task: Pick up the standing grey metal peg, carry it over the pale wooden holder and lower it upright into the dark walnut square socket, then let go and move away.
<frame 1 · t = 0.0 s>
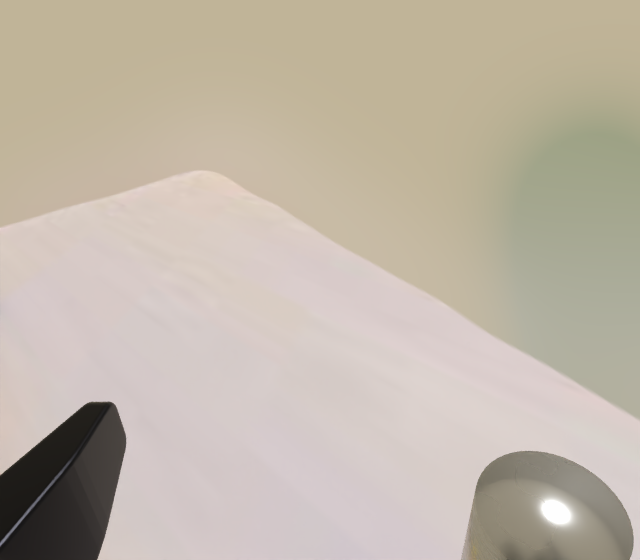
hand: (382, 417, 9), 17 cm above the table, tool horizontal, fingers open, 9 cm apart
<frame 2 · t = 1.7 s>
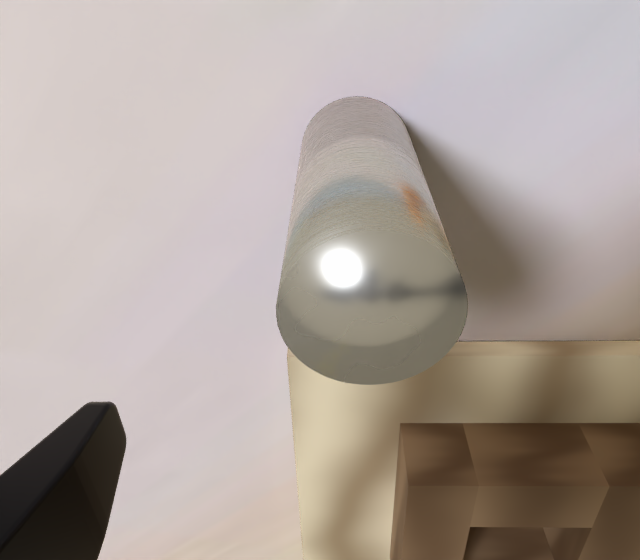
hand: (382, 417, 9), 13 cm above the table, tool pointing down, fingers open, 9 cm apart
peg: (355, 152, 20), on the table
socket holder: (496, 480, 30), on the table
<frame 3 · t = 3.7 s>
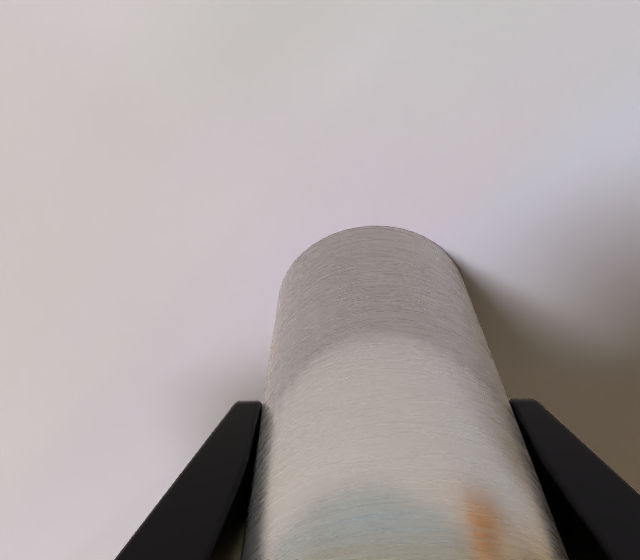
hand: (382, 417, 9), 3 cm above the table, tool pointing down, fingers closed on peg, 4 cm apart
peg: (371, 309, 11), on the table, touching gripper
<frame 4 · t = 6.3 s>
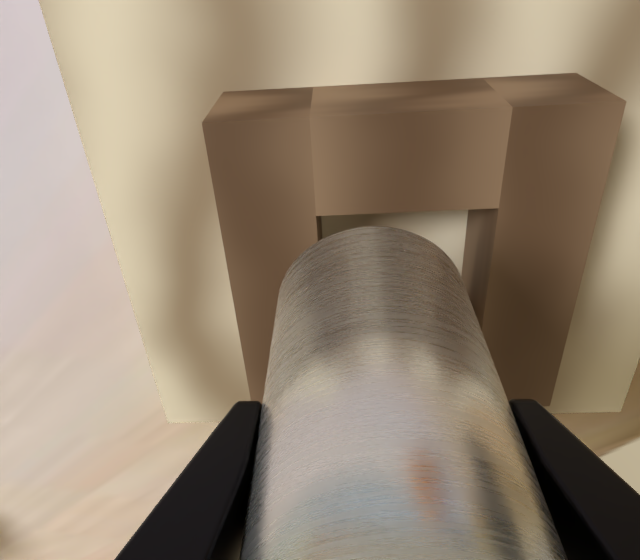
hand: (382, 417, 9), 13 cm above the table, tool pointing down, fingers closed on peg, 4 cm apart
peg: (370, 309, 11), point 10 cm above the table, touching gripper
socket holder: (391, 225, 21), on the table
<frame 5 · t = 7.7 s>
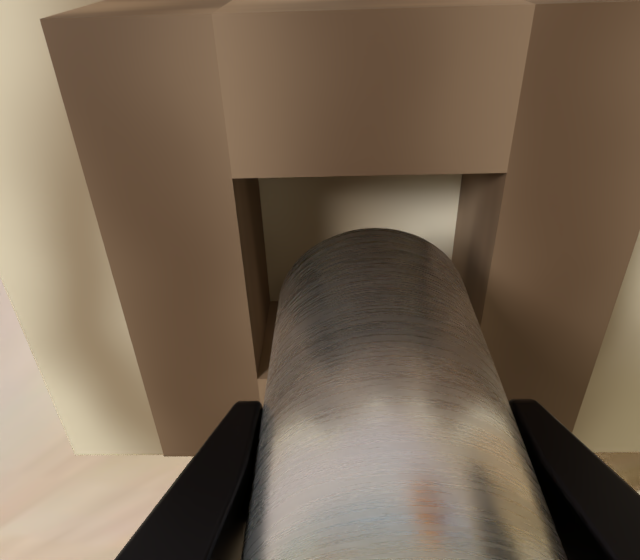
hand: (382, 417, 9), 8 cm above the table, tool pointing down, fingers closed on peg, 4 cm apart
peg: (371, 310, 11), point 5 cm above the table, touching gripper
socket holder: (357, 205, 16), on the table
when the fingers open (5 cm above the table, at t = 9.1 s): peg drops 1 cm, resting on socket holder.
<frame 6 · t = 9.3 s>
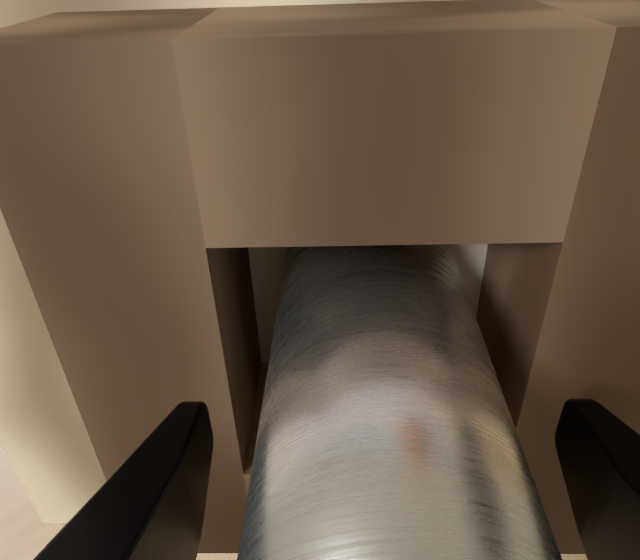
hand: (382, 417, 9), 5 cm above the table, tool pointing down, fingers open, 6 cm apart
peg: (368, 274, 13), point 1 cm above the table, touching socket holder
socket holder: (364, 253, 13), on the table
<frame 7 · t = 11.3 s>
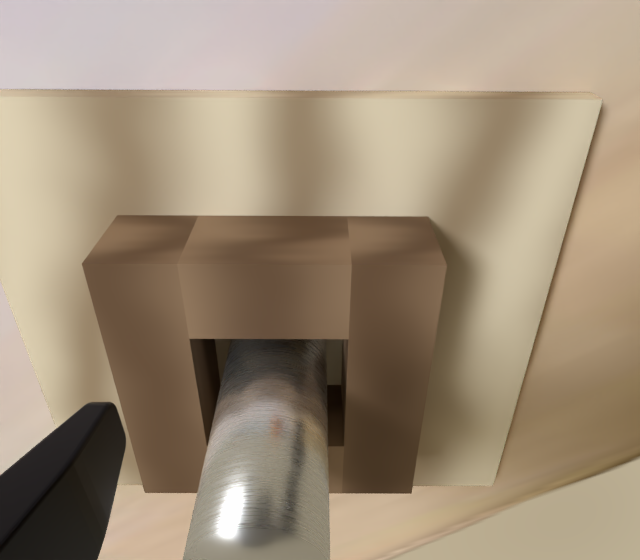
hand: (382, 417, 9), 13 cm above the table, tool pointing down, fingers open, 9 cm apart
peg: (279, 337, 23), point 1 cm above the table, touching socket holder
socket holder: (280, 323, 24), on the table
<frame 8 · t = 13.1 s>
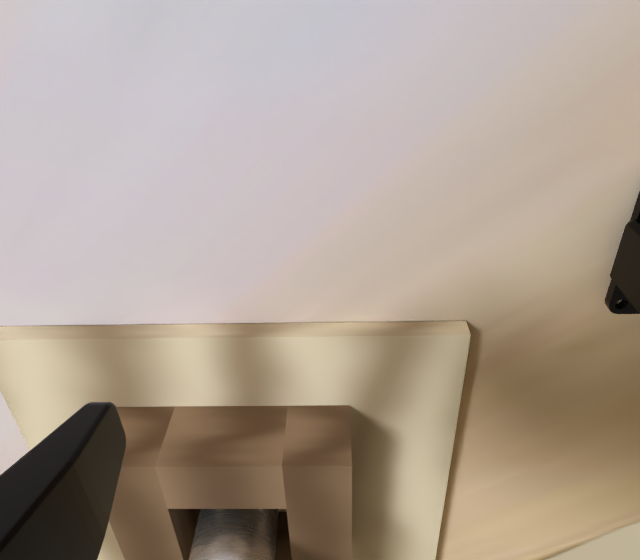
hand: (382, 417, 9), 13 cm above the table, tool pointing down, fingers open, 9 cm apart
peg: (244, 481, 29), point 1 cm above the table, touching socket holder
socket holder: (246, 465, 30), on the table
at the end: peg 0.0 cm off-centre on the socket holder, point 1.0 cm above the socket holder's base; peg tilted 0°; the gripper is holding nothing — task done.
